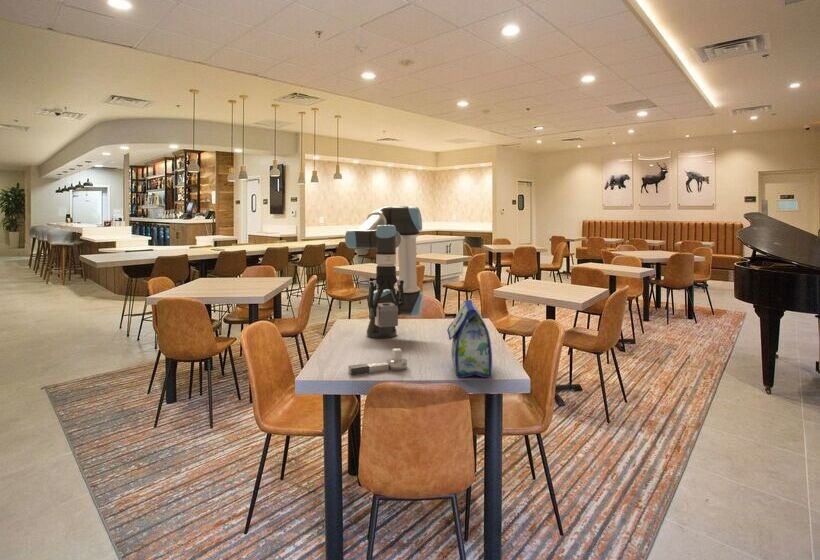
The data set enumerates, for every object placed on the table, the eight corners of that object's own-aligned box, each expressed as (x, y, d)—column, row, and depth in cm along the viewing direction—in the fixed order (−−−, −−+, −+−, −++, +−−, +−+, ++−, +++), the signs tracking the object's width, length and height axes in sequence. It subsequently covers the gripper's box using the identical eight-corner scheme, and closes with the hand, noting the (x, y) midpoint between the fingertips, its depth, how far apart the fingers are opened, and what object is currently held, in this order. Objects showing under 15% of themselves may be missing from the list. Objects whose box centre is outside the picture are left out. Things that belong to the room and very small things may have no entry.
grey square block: (375, 323, 188) (374, 302, 187) (391, 322, 190) (391, 301, 189) (380, 327, 181) (380, 305, 180) (397, 326, 184) (397, 304, 183)
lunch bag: (446, 361, 196) (447, 298, 193) (487, 362, 195) (488, 298, 192) (449, 379, 174) (450, 308, 171) (495, 379, 173) (496, 308, 170)
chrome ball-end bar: (347, 370, 183) (346, 351, 182) (402, 364, 192) (402, 345, 191) (352, 377, 176) (352, 357, 175) (410, 369, 185) (410, 350, 184)
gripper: (363, 266, 176) (364, 328, 179) (413, 265, 183) (413, 324, 186) (358, 265, 183) (359, 324, 186) (407, 263, 190) (407, 320, 193)
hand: (386, 324), depth 186 cm, fingers closed on grey square block, 7 cm apart
